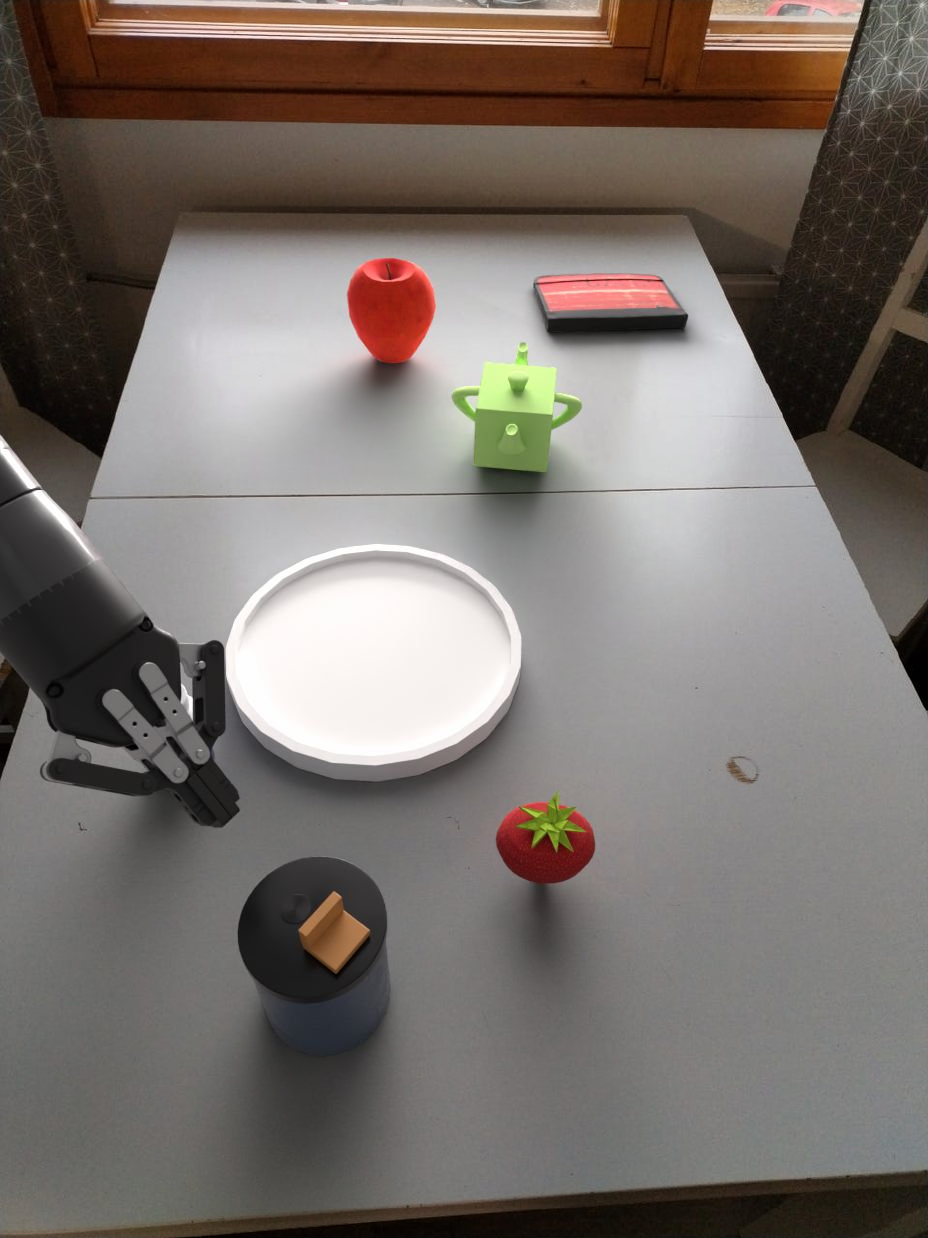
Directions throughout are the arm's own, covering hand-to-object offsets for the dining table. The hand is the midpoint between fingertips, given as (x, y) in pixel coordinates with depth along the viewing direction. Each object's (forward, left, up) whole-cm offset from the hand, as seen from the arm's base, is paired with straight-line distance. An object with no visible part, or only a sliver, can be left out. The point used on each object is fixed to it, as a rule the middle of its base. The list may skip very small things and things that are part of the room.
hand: (226, 819), depth 55 cm
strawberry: (+15, -15, -17) cm, 28 cm away
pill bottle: (+8, +16, -17) cm, 25 cm away
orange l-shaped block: (-1, -8, -6) cm, 10 cm away
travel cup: (-1, -6, -17) cm, 18 cm away
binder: (+105, +20, -17) cm, 109 cm away
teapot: (+64, +14, -17) cm, 68 cm away
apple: (+75, +39, -17) cm, 86 cm away
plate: (+27, +9, -17) cm, 33 cm away
